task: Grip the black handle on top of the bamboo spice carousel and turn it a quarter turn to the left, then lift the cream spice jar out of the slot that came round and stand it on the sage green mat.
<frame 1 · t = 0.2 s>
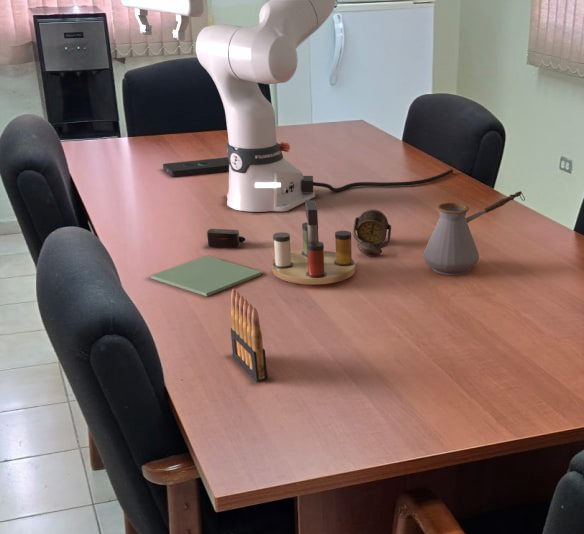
hand: (162, 37, 190), 39 cm above the table, tool pointing down, fingers open, 8 cm apart
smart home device: (204, 170, 252), on the table
sage mat: (207, 276, 186), on the table
vintage desk clock: (369, 248, 205), on the table
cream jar: (283, 264, 187), point 2 cm above the table, touching spice carousel
black box with knob: (228, 246, 202), on the table
coffee pot: (472, 267, 197), on the table
ammunition clip: (250, 369, 153), on the table
spice carousel: (312, 237, 186), point 8 cm above the table, hinge at 0.0°, touching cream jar
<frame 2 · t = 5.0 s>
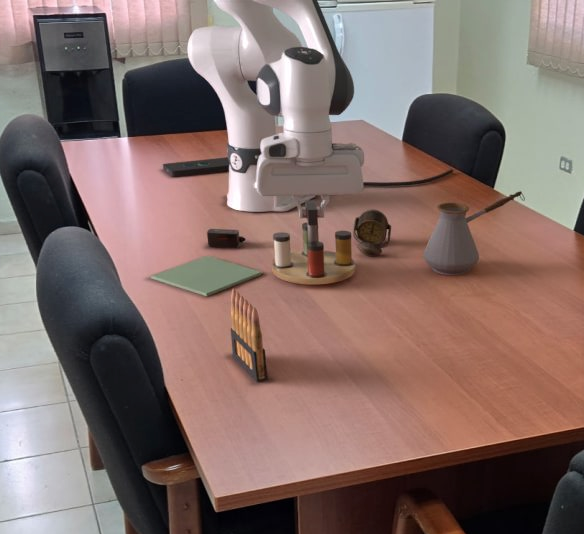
hand: (311, 217, 183), 12 cm above the table, tool pointing down, fingers closed on spice carousel, 2 cm apart
spice carousel: (312, 237, 186), point 8 cm above the table, hinge at 0.0°, touching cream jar, gripper
everything else where it was.
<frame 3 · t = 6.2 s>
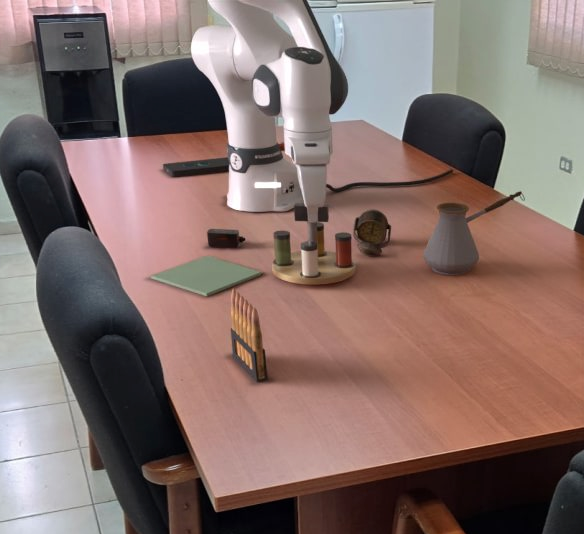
hand: (311, 217, 183), 12 cm above the table, tool pointing down, fingers open, 4 cm apart
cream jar: (310, 273, 183), point 2 cm above the table, touching spice carousel
spice carousel: (312, 237, 186), point 8 cm above the table, hinge at 79.0°, touching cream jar
everything else where it was.
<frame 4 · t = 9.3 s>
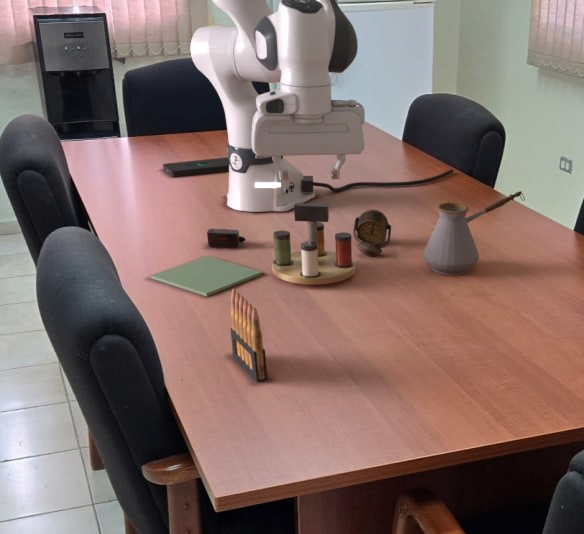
hand: (309, 179, 175), 20 cm above the table, tool pointing down, fingers open, 8 cm apart
nothing on the table moved.
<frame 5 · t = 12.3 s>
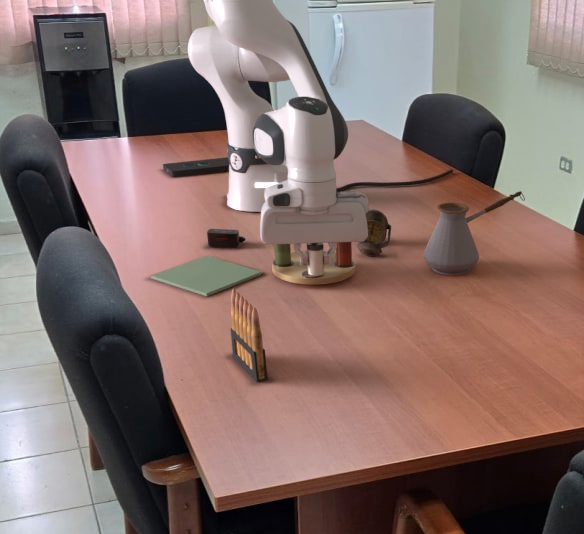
hand: (315, 264, 182), 4 cm above the table, tool pointing down, fingers closed on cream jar, 3 cm apart
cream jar: (316, 273, 183), point 2 cm above the table, touching gripper, spice carousel
spice carousel: (312, 237, 186), point 8 cm above the table, hinge at 82.2°, touching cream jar
everything else where it was.
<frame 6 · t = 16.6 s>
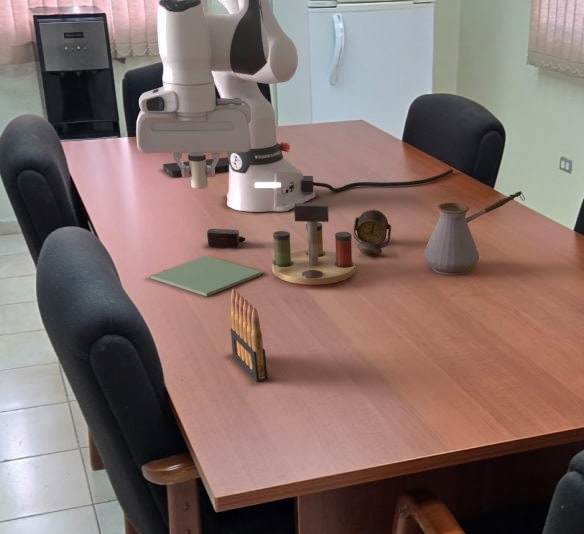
hand: (198, 176, 176), 19 cm above the table, tool pointing down, fingers closed on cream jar, 3 cm apart
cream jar: (199, 186, 177), point 18 cm above the table, touching gripper
spice carousel: (312, 237, 186), point 8 cm above the table, hinge at 82.2°
everything else where it was.
when the fingers open (2 cm above the table, at t = 21.4 s): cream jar stays where it is, resting on sage mat.
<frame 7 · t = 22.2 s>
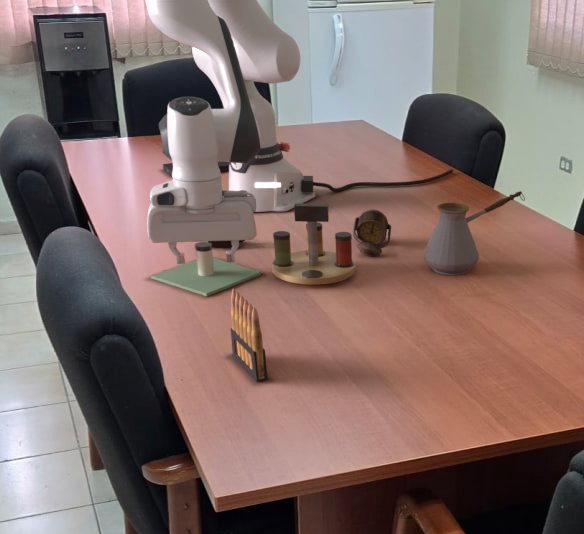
hand: (206, 262, 185), 3 cm above the table, tool pointing down, fingers open, 8 cm apart
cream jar: (206, 273, 186), point 1 cm above the table, touching sage mat
everything else where it was.
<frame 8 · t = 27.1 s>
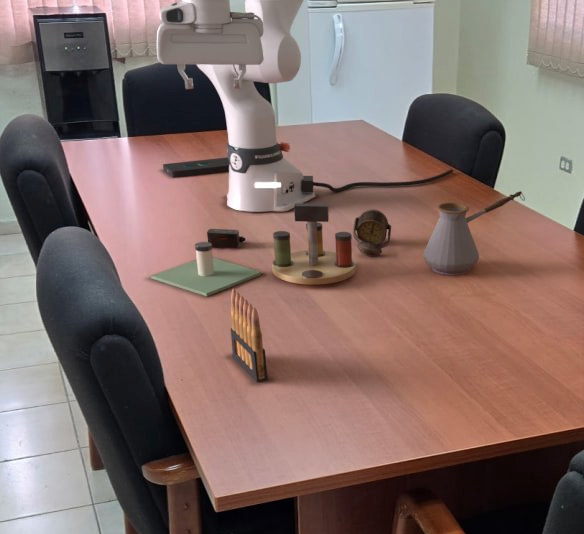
hand: (214, 88, 188), 31 cm above the table, tool pointing down, fingers open, 8 cm apart
nothing on the table moved.
at the end: spice carousel at +82° (first picture: +0°); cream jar inside the target area on the sage mat (0.1 cm from its centre), point 0.6 cm above the sage mat's base; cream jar tilted 0° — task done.
